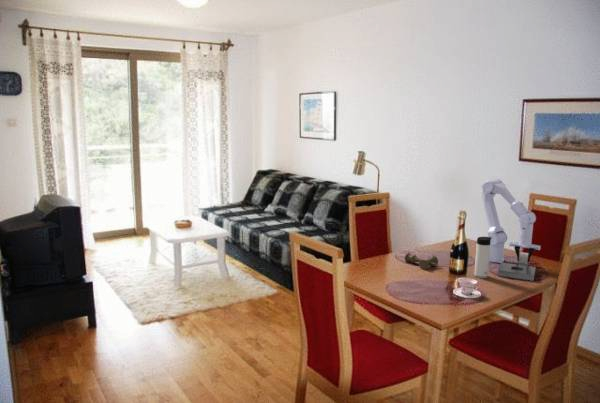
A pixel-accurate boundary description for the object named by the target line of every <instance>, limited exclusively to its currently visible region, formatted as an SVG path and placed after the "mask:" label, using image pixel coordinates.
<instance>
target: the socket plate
mask: <svg viewBox="0 0 600 403" xmlns="http://www.w3.org/2000/svg"><path fill="white" fill-rule="evenodd" d="M499 264H500V265H499V267H498V269H497V276H498V277H504V278H508V277H509V278H510V279H516V280H521V279H522V280H521V281H523V280H524V281H528V280H529V281H530V282H535V281H534V279H535V275H536V266H529V265H527V266H523V265H518V264H517V263H515V264H514V263H509V262H503V263H502V262H501V263H499ZM529 281H528V282H529Z"/></svg>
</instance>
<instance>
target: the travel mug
mask: <svg viewBox="0 0 600 403" xmlns="http://www.w3.org/2000/svg"><path fill="white" fill-rule="evenodd" d="M491 239H492V238H491V237H488V236H479V237H477V239H476V247H475V248H476V250H475V260H474V261H475V262H474V270H473V271H474V273H473V274H474V277H475V278H477V279H487V278H488V277H489V276H488V275H489V265H490V261H489V255H490V242H491Z"/></svg>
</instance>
